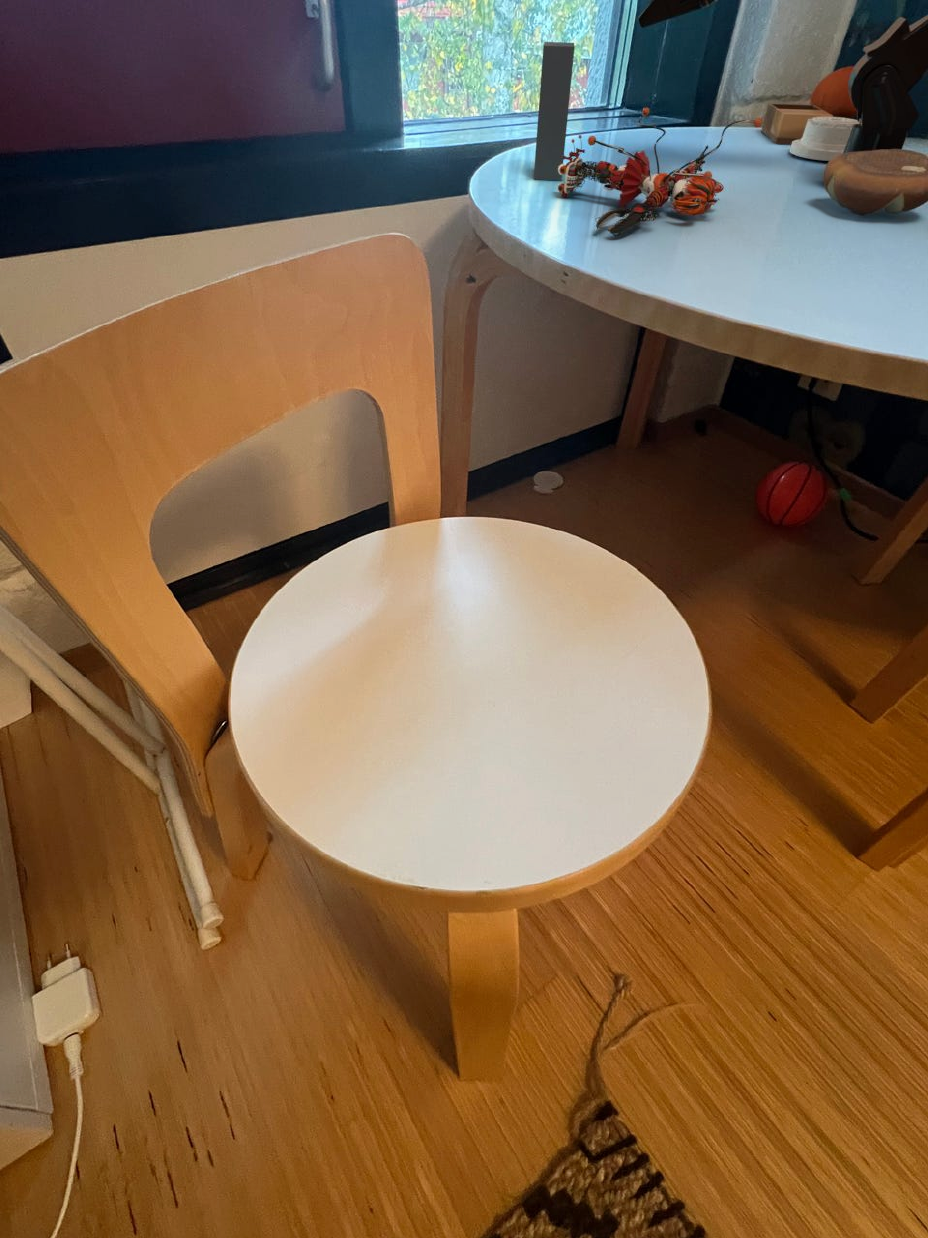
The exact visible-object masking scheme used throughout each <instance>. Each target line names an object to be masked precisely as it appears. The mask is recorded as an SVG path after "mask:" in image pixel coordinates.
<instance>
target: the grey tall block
mask: <svg viewBox="0 0 928 1238" xmlns="http://www.w3.org/2000/svg"><path fill="white" fill-rule="evenodd" d="M542 47H543V48H542V61H541V62H542V64H541V73H540V85H539V86H540V88H539V98H538V99H539V102H538V115H537V127H536V142H535V152H534V153H535V154H534V167H533V180H537V181H538V180H539V181H558V182H560V181H562V178H563V175H560V174H559V173H558V167H559V166H560V165H561V164H564V160H563V158H564V156H565V150H566V149H565V147H566V138H567V128H568V119H569V109H570V107H569V106H570V98H571V87H572V78H573V77H572V76H573V68H574V67H573V66H574V59H575V58H574V57H575V42H565V41H563V42H561V41H560V42H559V41H544V43H543V46H542Z"/></svg>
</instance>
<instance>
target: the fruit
mask: <svg viewBox="0 0 928 1238" xmlns="http://www.w3.org/2000/svg"><path fill="white" fill-rule="evenodd" d="M854 66H855V65H851V66H850V65H848V66H846V67H841V68H839V69H837V70H834V71H833V72H831V73H829V74H827V75H826V76H825V77H824V78H822V79H821V80H820V81H819V82H818V83H817V84H816V86H815V88H814V89H813V91H812V93H811V96H810V99H809V105H815V106H817V107H819V108H821V109H822V110H824V111H826V112H828V113H829V114H831V115H833V117H841V118H849V119H854V118H856V117H857V109H856V108H855V107H854V106H853V103H852V101H851V99H850V96H849V93H848V82H849V79H850V75H851V72H852V70H853V68H854Z"/></svg>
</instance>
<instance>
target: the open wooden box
mask: <svg viewBox="0 0 928 1238" xmlns="http://www.w3.org/2000/svg"><path fill="white" fill-rule="evenodd" d="M812 117H833V115H831V114H829V113H828V112H826V111H824V110H822V109H821V108H819V107H817V106H815V105H810V104H801V103H800V104H798V103H797V104H796V103H772V102H771V103H768V104H767V108H766V111H765V115H764V119H763V122H762V127H761V131H760V132H761V133H762V134H763V135H765V136H766V137H767V139H769V140H771V141H772V142H773V143H774V144H775V145H791V144H792V141H795V140H799V139H801V138H802V137H803V134H804V131H805V128H806V125H807V121H808V119H812Z"/></svg>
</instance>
